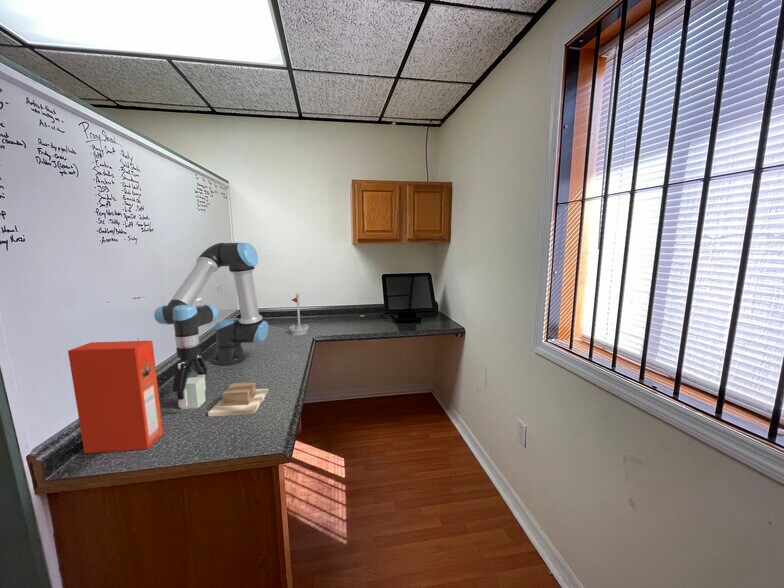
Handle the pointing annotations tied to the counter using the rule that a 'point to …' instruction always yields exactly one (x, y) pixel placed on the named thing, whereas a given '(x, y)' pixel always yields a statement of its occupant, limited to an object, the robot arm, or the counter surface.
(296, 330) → the flag stand
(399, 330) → the counter surface
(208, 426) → the counter surface
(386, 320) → the counter surface
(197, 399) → the sage pillar
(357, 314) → the counter surface
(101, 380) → the file binder
